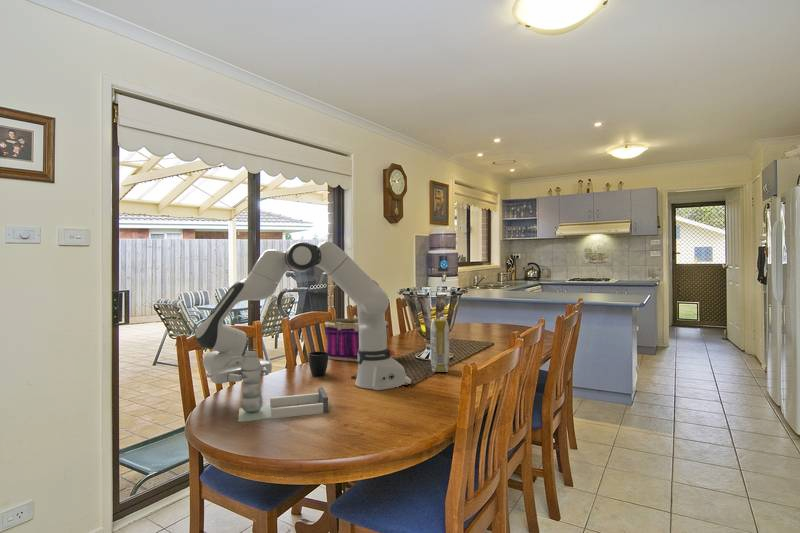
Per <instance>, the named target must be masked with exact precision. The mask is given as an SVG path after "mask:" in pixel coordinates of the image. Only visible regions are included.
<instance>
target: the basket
mask: <svg viewBox="0 0 800 533" xmlns="http://www.w3.org/2000/svg"><path fill="white" fill-rule="evenodd" d="M372 280H373V281H374V282H375V283H376V284H377V285H378V286H379V287H380V285H379V283H378V282H376V281H375V279H372ZM337 286H338V285H337V284H336V283H335V284H334V285H333V286H332V288H331V290H330V294H329V307H330V312H331V317H332V319H330V320H327V321H325V322H324V328H325V332H326V343H327V344H326V352H328V360H332V361H333V360H335V361H336V360H337V361H346V362H355V363H358V349H359V326H358V316H357V317H356V316H355V317H354V316H352V312H351V306H350V305H351V304H350V297H349V296H348V295H347V309H348V314H349V317H350V318H336V317H335V313H334V310H333V304H332V296H333V292H334V290H335V288H336V287H337ZM385 324H386V335H387V333H388V327H389V326H388V325H389V322H388V321H387V320H385Z"/></svg>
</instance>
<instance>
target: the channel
mask: <svg viewBox="0 0 800 533" xmlns="http://www.w3.org/2000/svg"><path fill="white" fill-rule="evenodd" d="M308 403H309V404H308ZM297 404H299V405H297ZM269 405H270V408H271V419H272V420H274V419H282V418H291V417H299V416H300V417H301V416H308V415H310V416H311V415H317V414H326V413H329V396H328V394H327V393H326V391H325V389H324V387H323V386H322V387H321V386H320V387H319V386H318V391H317V392H315V393H306V394H305V393H304V394H295V395H283V396H275V397H269ZM289 405H290V406H289Z"/></svg>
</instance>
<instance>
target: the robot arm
mask: <svg viewBox="0 0 800 533" xmlns="http://www.w3.org/2000/svg"><path fill="white" fill-rule="evenodd" d="M313 267H317V268H319V269H320V270H322V271H323V272H324V273H325V274H326V275H327V276H328V277H329V278H330V279H331V280H332V281H333V282H334V283H335V284H337V285H336V286H338V287H339V288H340V289H341V291H343V292H344V293H345V294H346V295H347V297H348V296H349V299H351V300H352V301H353V302H354V303H355V304H356V309H357V312H356V314H357V317H358V326H359V349H358V362H357V364H358V365H357V366H358V367H357V372H356V373H357V374H356V379H355V382H354V385H355V386H357V388H362V389H367V390H369V389H370V390H375V391H382V390H388V389H395V387H396V388H400V387H399V386H401V385H402V384H405V383H403V382H407V383H411V382H412V379H411V378H410V377H408V376H407V375H406V371H405V367H404V366H403V365H402V364H401V363H400V362H398V361H397V360H396V359H394V358H393V357H394V356H395V350H393V349H390V348H388V347H387V334H386V324H385V321H386V318H385V316H386V315H385V313H386V312H387V310H388V307H389V305H390V304H389V303H390V301H389V300H390V299H389V296H388V294H387V293H386V291H385V290H383V288H381V287H380V285H379V284H378V283H377V282H376V281H375V280H374V279H373V278H371V277H370V275H368V274H367V273H366V272H365V271H364V270H363V269H362V268H361V267H360V266H359V265H358V264H357V263H356V262H355V260H353V259H352V258H351V257H350V256H349V255H348V253H346V252H345V251H344V250H343V249H342V248H340V247H339V246H338V245H337V244H335V243H333V241H330V240H325V241H322V242H320V243H319V244H318V245H315V244H312V243H309V242H305V241H298V242H295V243H293V244H291V245H290V246H289V248H287V250H285V251H280V250H278V249H275V248H274V249H273V248H269V249H266V250H265V251H264V252H263V253H262V254H261V255H260V256H259V257H258V260H256V262H255V263H254V265H253V267H252V269H251V271H250V272H249V274H248V275H247V276H246V277H245V278H243V279H242V280H239V281H236V282H235V283H234V284H232V285H231V287H230V288H229V289H228V290H227V291H226V292H225V294H224V295H223V296H222V298H221V299H220V300H219V302H218V303H217V304H216V306H215V307H214V308H213V309H212V311H211V312H210V314H209V315H208V316H206V318H205V319H204V320H203V321H202V322H201V323H200V324H199V326H197V328H196V330H195V333H194V337H195V341H196V343H197V345H198V346H199V347H200V348H202V349H206V350H211V351H210V352H207V354H206V355H205V356H204V358H203V361H202V364H203V367H204V370H205V371H206V372H207V373H205V377H206V378H210V381H211V382H212V383H213V384H216V385H221V384H227V383H237V382H238V383H239V382H241V381H242V382H243V378H242V372H241V365H242V363H243V361H244V360H245V359H246V357H245V351H246V350H248V348H249V338H248V335H247V333H246V332H245V330H244V331H243V330H241V329H238V328H236V327H232V326H230V325H227V324H225V323H223V322H224V321H225V319H226V318H227V317H228V315H229V314H230V312H231V311H232V310H233V308H234V307H235V306H236V305H237V304H238V303H241V302H244V301H263V300H266V299H268V298H270V297H271V296H272V295H274V293H275V292H276V291H277V288H278V286H279V284H280V283H281V280H282V278H283V276H284V275H285V274H286V273H287V272H288V271H289V272H294V273H305V272H307V271H309V270H310V269H312V268H313ZM373 280H374V281H375V282H376V283H377V284H378V285H379V286H378V285H377V284H376V283H375V282H374V281H373ZM256 357H257V358H258V360H259V361H260V363H261V365H262V368H261V376H263V377H265V376H268V375H269V374H271V373H272V371H273V370H272V369H273V366H272V362H271V361H269V360H266V359H264V358H259V357H258V355H257V356H256Z"/></svg>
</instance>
